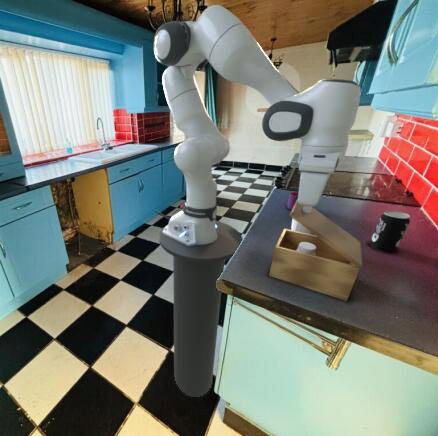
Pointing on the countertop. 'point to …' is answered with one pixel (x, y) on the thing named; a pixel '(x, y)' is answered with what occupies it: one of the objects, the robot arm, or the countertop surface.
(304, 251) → the supplement bottle
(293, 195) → the mug
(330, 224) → the chest lid
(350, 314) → the countertop surface
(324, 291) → the chest
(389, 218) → the beverage can
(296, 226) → the white fluted cylinder
